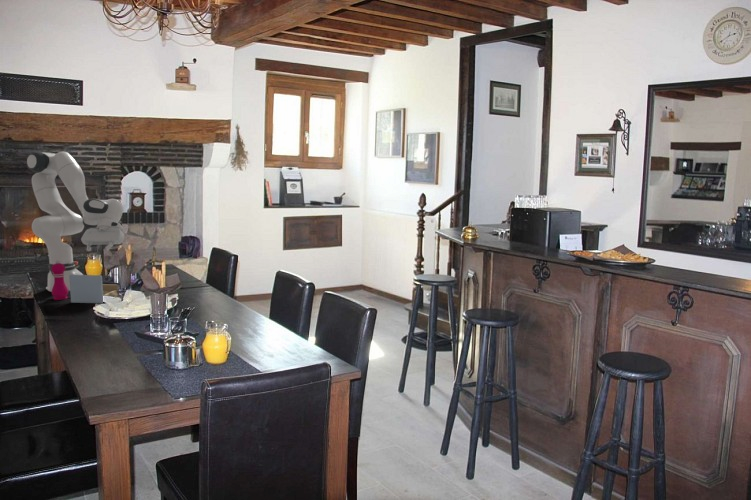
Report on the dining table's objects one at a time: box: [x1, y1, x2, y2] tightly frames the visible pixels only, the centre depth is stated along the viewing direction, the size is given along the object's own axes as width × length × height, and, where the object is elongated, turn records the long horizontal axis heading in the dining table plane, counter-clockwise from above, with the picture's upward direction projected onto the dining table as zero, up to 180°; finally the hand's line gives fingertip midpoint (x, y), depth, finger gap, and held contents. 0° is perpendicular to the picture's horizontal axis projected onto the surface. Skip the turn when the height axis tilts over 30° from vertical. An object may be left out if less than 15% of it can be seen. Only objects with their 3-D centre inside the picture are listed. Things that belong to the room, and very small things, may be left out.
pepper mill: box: [51, 260, 69, 301], centre depth 315 cm, size 7×7×20 cm
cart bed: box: [103, 283, 119, 298], centre depth 315 cm, size 14×15×7 cm
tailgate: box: [69, 274, 104, 304], centre depth 306 cm, size 1×16×14 cm, turn 84°
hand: (97, 250), depth 316 cm, fingers open, 8 cm apart
